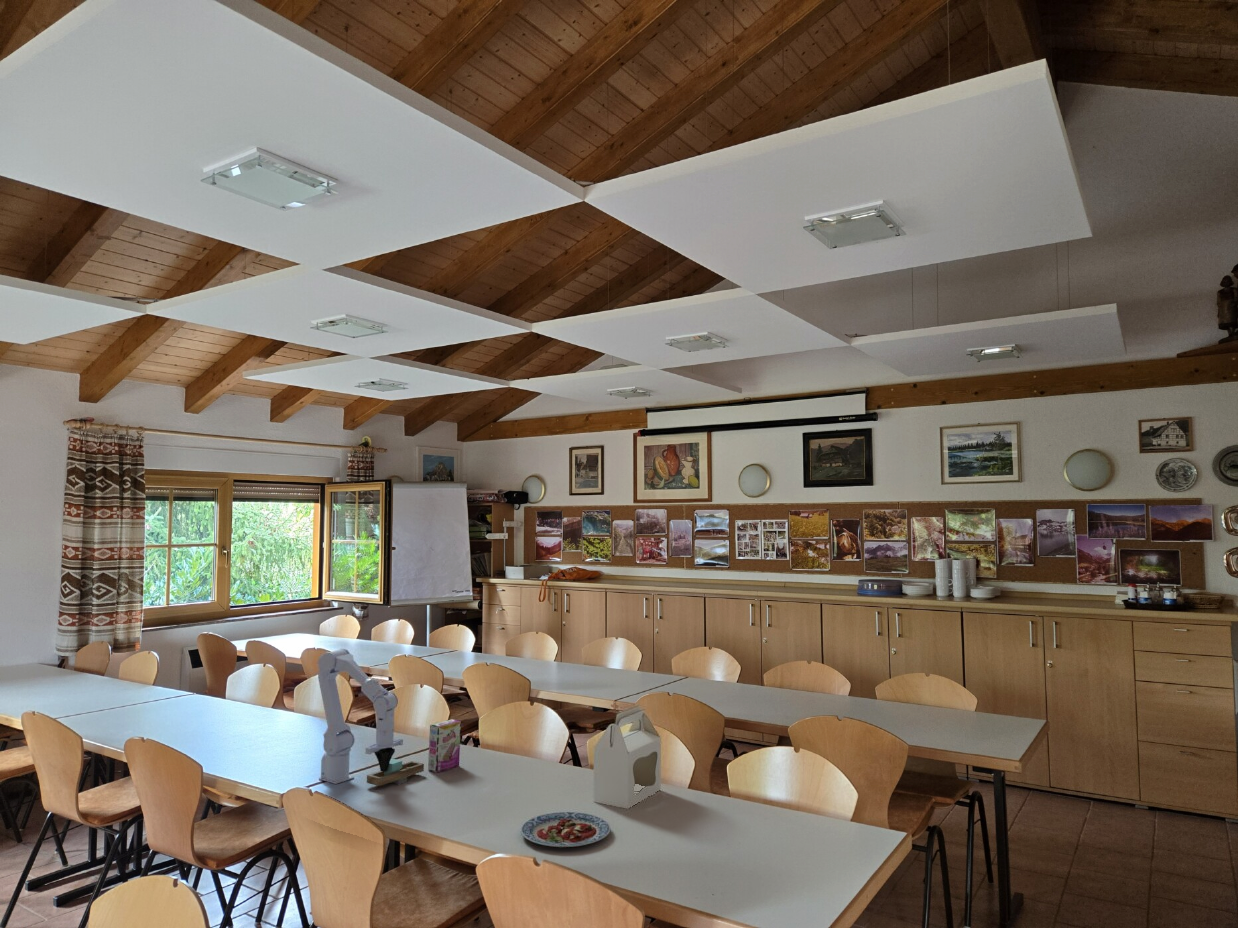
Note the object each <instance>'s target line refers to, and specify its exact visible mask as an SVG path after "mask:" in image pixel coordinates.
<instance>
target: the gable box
mask: <svg viewBox="0 0 1238 928" xmlns="http://www.w3.org/2000/svg"><path fill="white" fill-rule="evenodd" d="M645 710H646V709H645V708H644V709H642V706H641V705H639V704H638V705H636V706H633V707H631V708H628V709H625V710H623V711H621V712H617V713H615V716H614V723H611V724H609V725H608V726H607V727H606V729H605V731H604V732H603V733H602V735H601V736H600V738H599V739H598V741H597V742H596V744H595V745H594V746H593V789H592V790H593V792H592V793H593V794H592V795H593V797H592V798H593V803H597V804H601V805H605V804H606V805H605V806H610V805H612V806H611V807H614V806H617V807H616V808H619V807H623V808H628V809H627V810H630V809H631V808H633V807H634V806H633V805H635V804H637V803H638V802H640V803H641V801H642V800H643V801H645V800H646V799H645V798H647V797H648V796H650V797H652V796H653V795H652V794H654V793H655V792H657V791H658V790H660V789H662V787H661V786H662V785H661V783H662V782H661V780H662V775H661V774H662V769H661V768H662V764H661V763H662V738H661V736H660V735H659V733H658V731H657V730H656V729H655V727H654V725H653V723H652V722H651V720H650V719H649V717H648V716H647V715H646V713H645ZM629 724H631V726H630V727H629V730H628V731H627V732H624V733H622V730H621V728H622V727H625V726H626V725H629ZM635 784H639V785H641V786H645V787H644V788H642V789H641V790H640V791H634V786H635ZM660 791H661V790H660ZM634 792H639V793H634ZM657 793H658V792H657ZM635 794H636V795H635ZM655 794H656V793H655ZM655 794H654V795H655ZM651 795H652V796H651ZM648 798H649V797H648ZM648 798H647V799H648ZM644 799H645V800H644ZM643 801H642V802H643ZM638 804H639V803H638ZM638 804H637V805H638ZM632 806H633V807H632ZM635 806H636V805H635ZM630 807H631V808H630ZM623 808H622V809H623ZM629 808H630V809H629Z"/></svg>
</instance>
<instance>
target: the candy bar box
mask: <svg viewBox="0 0 1238 928" xmlns="http://www.w3.org/2000/svg"><path fill="white" fill-rule="evenodd" d="M461 727H462V721H461V720H458V719H453V718H452V719H449V720H445V721H440V722H435V723H431V724H429V736H428V737H429V739H428V740H429V741H428V765H427V766H428V767H427V768H428V769H427V770H428V771H429V772H432V773H435V774H437V773H441V772H443V771H446V770H450V769H453V768H456V767H457V768H458V767H460V753H461V752H460V751H461V749H460V748H461Z"/></svg>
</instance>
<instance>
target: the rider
mask: <svg viewBox="0 0 1238 928" xmlns="http://www.w3.org/2000/svg"><path fill="white" fill-rule="evenodd" d="M402 764H403V761H402V760H401V759H396V758H391V760H390V763H389V766H388V770H387V771H386V772H384V776H385V775H388V774H391V773H394V772H397V771H400V769H401V768H402Z"/></svg>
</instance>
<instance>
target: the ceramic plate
mask: <svg viewBox="0 0 1238 928" xmlns="http://www.w3.org/2000/svg"><path fill="white" fill-rule="evenodd" d="M520 833H521V835H522V837H524V838H525V839H526V840H528V841H530V842H531V843H534V844H538V845H540V846H541V845H542V846H547V847H553V848H554V847H556V848H557V847H558V848H567V847H568V848H570V847H572V848H573V847H580V846H586V845H589V844H593V843H597V842H598V841H600V840H603V839H604V838H606V837H607V836H608V835H609V834H610V833H611V825H610V824H609V822H607V820H605V819H604V818H602V817H599V816H597V815H594V814H592V813H591V814H590V813H585V812H578V811H577V812H576V811H559V812H557V811H556V812H549V813H545V814H540V815H537V816H535V817H532V818H529V819H528V820H526V821H524V823H523V824H522V825H521V826H520Z"/></svg>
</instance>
